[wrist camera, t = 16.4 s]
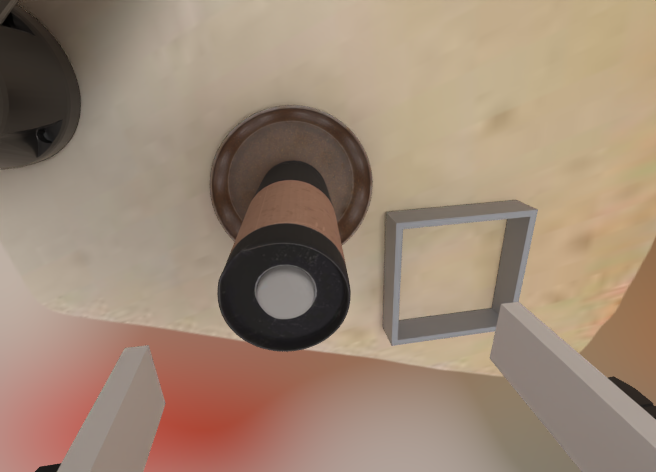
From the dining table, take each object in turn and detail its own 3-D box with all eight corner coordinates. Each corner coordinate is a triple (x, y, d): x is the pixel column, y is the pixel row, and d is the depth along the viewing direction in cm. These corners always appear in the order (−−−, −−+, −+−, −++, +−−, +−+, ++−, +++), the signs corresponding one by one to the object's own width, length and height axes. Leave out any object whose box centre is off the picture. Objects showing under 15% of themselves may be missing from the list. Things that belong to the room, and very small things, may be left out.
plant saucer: (390, 207, 44) (398, 215, 41) (270, 277, 45) (270, 289, 42) (319, 70, 36) (324, 69, 34) (179, 159, 38) (172, 164, 35)
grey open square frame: (382, 327, 50) (391, 345, 46) (385, 211, 43) (396, 223, 40) (496, 311, 52) (512, 328, 49) (516, 199, 45) (537, 209, 42)
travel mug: (332, 221, 39) (356, 346, 21) (264, 228, 39) (230, 360, 21) (326, 153, 36) (349, 232, 18) (252, 160, 36) (200, 247, 18)
